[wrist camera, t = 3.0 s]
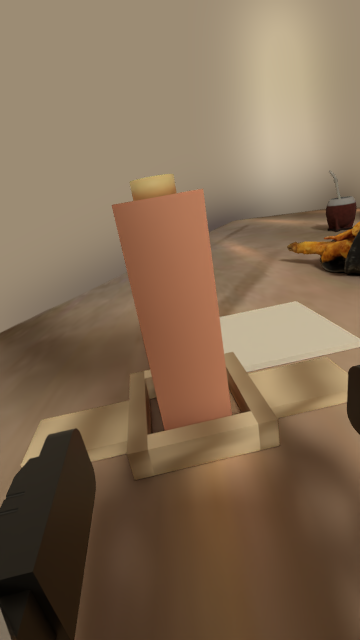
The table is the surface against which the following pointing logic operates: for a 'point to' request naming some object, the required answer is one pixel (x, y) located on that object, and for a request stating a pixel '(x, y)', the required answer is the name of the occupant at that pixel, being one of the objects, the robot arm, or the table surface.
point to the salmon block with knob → (175, 299)
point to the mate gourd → (340, 211)
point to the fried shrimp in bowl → (335, 251)
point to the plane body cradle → (206, 437)
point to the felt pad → (282, 336)
